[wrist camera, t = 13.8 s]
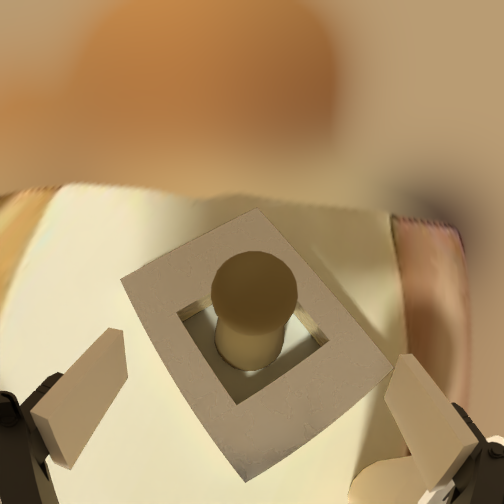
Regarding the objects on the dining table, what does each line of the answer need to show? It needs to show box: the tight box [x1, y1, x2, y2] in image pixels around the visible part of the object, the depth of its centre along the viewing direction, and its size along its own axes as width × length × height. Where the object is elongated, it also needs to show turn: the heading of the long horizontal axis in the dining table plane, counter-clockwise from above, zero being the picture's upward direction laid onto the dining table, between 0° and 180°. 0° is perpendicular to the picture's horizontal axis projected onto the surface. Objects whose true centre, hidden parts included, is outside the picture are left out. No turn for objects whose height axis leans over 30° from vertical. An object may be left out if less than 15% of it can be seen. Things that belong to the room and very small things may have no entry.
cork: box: [211, 251, 298, 371], centre depth 22 cm, size 6×6×11 cm
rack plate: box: [120, 208, 394, 483], centre depth 25 cm, size 20×15×2 cm
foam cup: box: [348, 435, 504, 504], centre depth 13 cm, size 10×9×13 cm
